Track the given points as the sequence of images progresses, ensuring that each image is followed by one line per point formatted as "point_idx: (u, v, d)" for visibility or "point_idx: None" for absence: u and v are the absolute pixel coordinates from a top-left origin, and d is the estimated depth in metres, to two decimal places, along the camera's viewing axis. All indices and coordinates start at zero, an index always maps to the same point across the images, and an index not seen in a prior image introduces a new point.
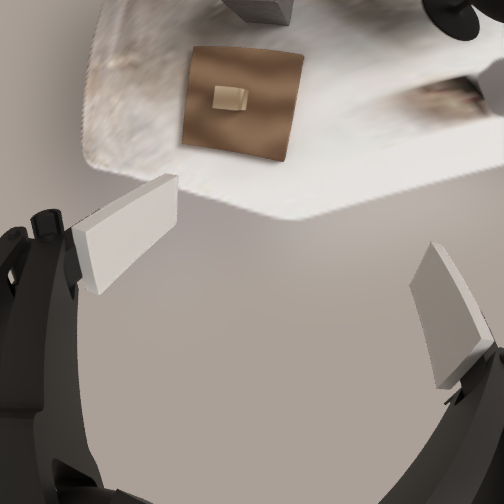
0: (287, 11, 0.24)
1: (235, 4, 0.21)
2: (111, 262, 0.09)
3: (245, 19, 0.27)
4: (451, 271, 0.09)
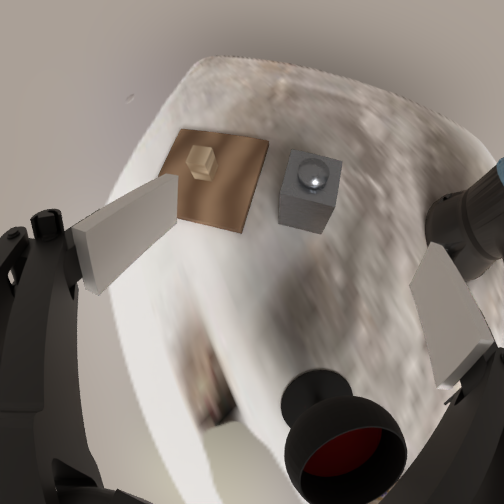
0: (288, 218, 0.37)
1: None
2: (111, 262, 0.09)
3: None
4: (451, 271, 0.09)
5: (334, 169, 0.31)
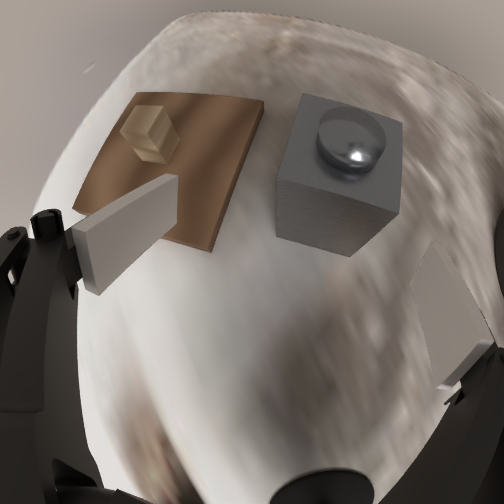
0: (294, 229, 0.20)
1: None
2: (111, 262, 0.09)
3: None
4: (451, 271, 0.09)
5: (390, 135, 0.13)
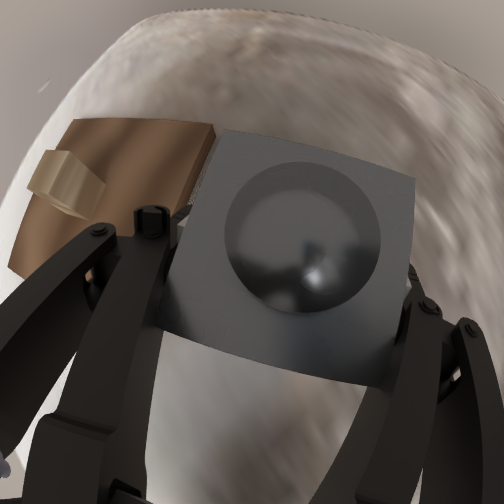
0: None
1: None
2: None
3: None
4: None
5: (390, 212, 0.07)
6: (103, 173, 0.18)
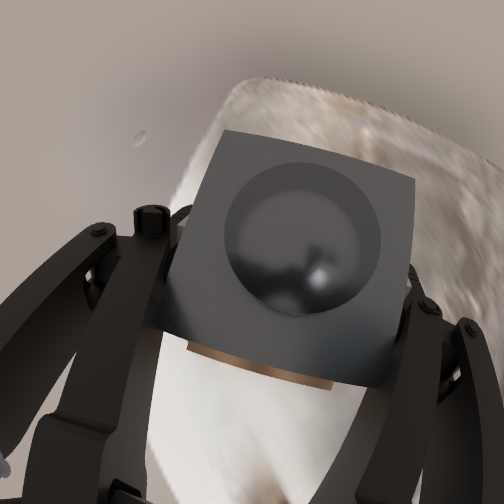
0: None
1: None
2: None
3: None
4: None
5: (390, 212, 0.07)
6: None
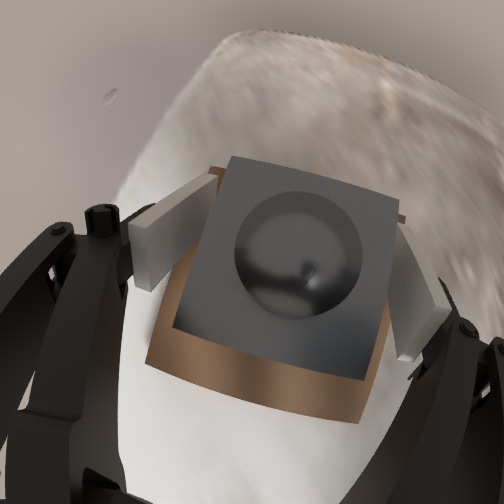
0: None
1: None
2: (163, 258, 0.10)
3: None
4: (413, 247, 0.10)
5: (375, 231, 0.09)
6: None
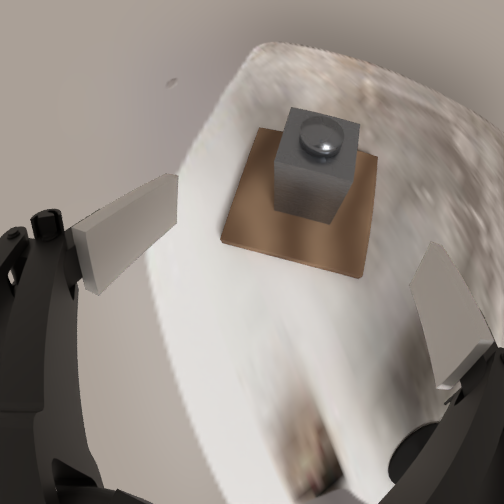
0: (287, 201, 0.27)
1: None
2: (111, 262, 0.09)
3: None
4: (451, 271, 0.09)
5: (349, 133, 0.21)
6: None
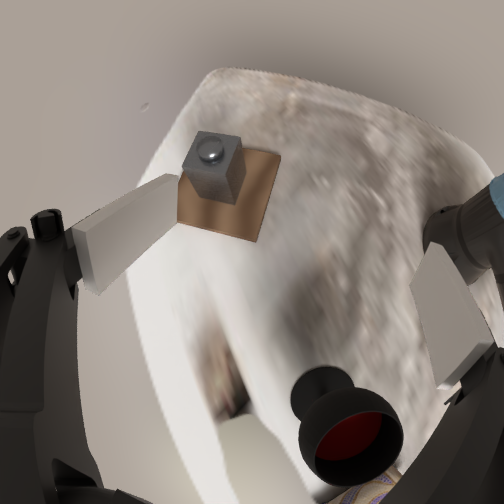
0: (202, 190, 0.42)
1: None
2: (111, 262, 0.09)
3: None
4: (451, 271, 0.09)
5: (231, 144, 0.35)
6: None
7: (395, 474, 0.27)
